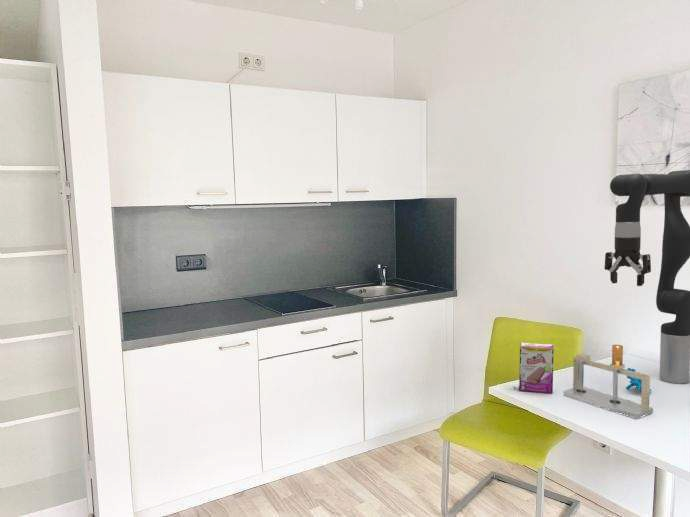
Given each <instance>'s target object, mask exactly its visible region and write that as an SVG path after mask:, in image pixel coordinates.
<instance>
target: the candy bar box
mask: <svg viewBox="0 0 690 517" xmlns="http://www.w3.org/2000/svg"><path fill="white" fill-rule="evenodd" d="M554 350H555V349H554V345H553V344H549V343H548V344H546V343H545V344H544V343H531V342H520V343H519V376H518V377H519V380H518V381H519V384H518V385H519V387H518V388H519V389H518V390H519V392H520V391H521V392H528V393H529V392H532V393H542V394H553V390H554V387H553V386H554Z"/></svg>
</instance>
